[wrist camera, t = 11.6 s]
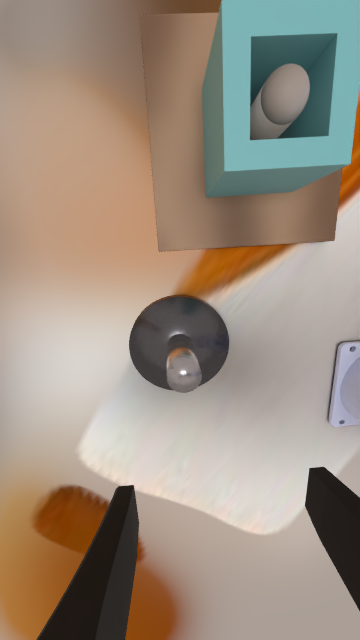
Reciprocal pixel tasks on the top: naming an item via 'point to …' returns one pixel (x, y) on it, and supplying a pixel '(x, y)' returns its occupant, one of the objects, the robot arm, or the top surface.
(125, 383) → the top surface
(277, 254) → the top surface
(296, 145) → the teal collar
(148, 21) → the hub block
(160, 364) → the round base with peg
